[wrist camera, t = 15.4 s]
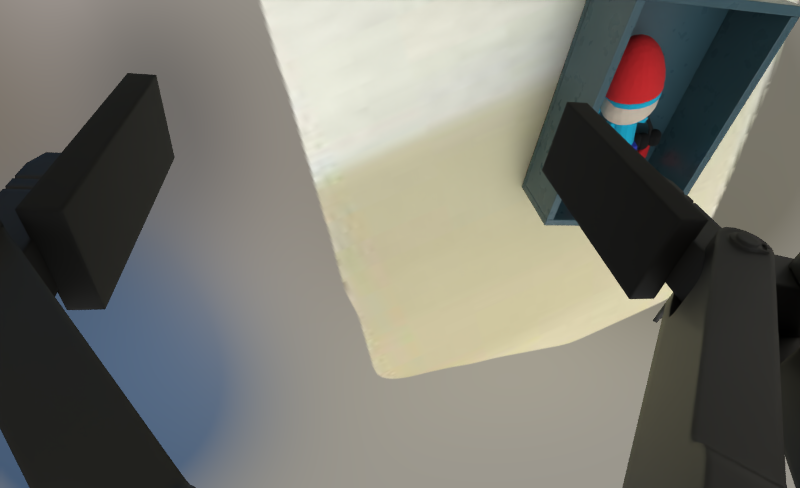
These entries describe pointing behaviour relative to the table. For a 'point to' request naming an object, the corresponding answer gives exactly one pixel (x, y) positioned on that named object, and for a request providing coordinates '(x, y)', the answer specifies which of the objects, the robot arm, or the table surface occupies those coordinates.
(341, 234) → the table surface
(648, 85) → the toy figure
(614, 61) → the tote
